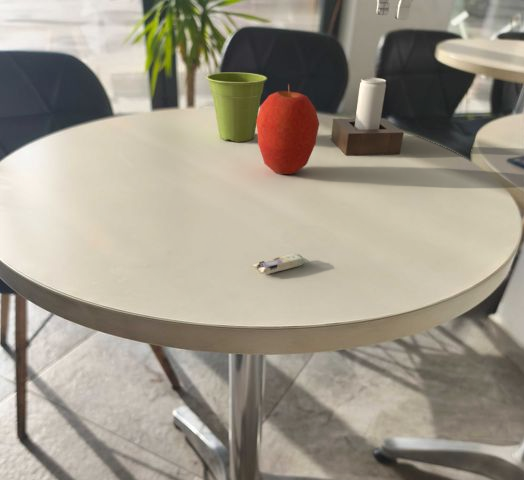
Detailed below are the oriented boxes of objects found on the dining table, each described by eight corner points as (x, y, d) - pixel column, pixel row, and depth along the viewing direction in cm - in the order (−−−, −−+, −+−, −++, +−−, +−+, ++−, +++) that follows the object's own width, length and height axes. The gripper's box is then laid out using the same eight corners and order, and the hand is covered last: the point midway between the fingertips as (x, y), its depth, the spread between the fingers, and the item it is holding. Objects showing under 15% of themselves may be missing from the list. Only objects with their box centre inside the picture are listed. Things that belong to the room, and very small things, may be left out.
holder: (381, 138, 105) (384, 118, 103) (399, 154, 97) (404, 132, 94) (330, 139, 104) (333, 118, 101) (345, 155, 95) (348, 133, 93)
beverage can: (378, 150, 98) (389, 82, 91) (353, 149, 98) (363, 82, 91) (373, 143, 102) (383, 77, 95) (350, 142, 102) (358, 77, 94)
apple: (258, 182, 82) (259, 89, 74) (253, 163, 90) (254, 77, 82) (319, 181, 83) (327, 90, 75) (309, 162, 91) (316, 77, 82)
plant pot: (277, 138, 103) (279, 77, 96) (234, 149, 96) (234, 85, 89) (239, 127, 110) (238, 69, 103) (196, 136, 103) (193, 75, 96)
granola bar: (299, 257, 61) (299, 249, 61) (309, 265, 60) (310, 257, 59) (251, 269, 59) (251, 261, 58) (260, 277, 57) (260, 270, 57)
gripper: (454, -95, 70) (433, 22, 78) (401, -84, 86) (388, 12, 94) (412, -96, 69) (395, 22, 78) (366, -85, 85) (356, 12, 94)
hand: (391, 17), depth 86 cm, fingers open, 8 cm apart
